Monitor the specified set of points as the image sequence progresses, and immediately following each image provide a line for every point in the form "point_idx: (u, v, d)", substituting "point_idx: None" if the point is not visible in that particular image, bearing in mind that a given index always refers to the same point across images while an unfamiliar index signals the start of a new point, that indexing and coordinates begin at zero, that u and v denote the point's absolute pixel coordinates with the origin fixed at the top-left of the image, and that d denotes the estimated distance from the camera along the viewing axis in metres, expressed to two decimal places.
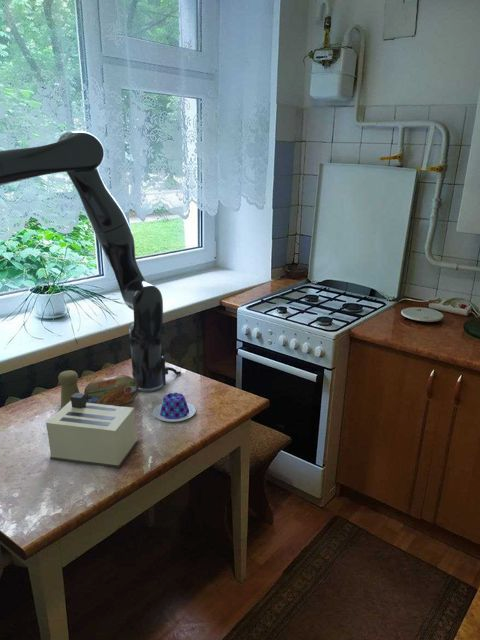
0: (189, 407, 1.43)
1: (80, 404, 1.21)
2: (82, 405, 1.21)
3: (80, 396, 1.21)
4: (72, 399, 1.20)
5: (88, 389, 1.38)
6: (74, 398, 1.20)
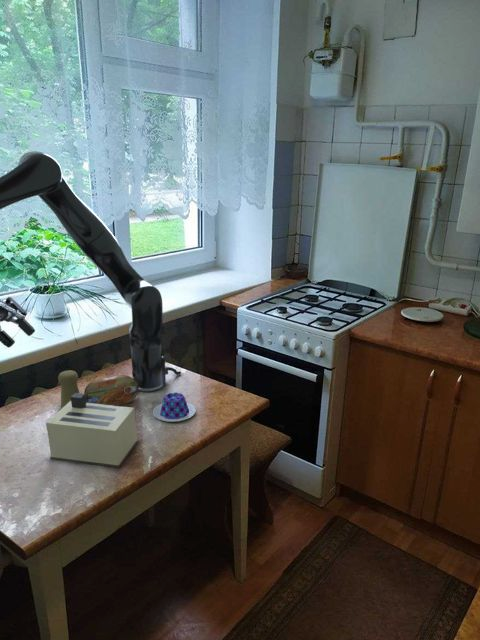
0: (189, 407, 1.43)
1: (80, 404, 1.21)
2: (82, 405, 1.21)
3: (80, 396, 1.21)
4: (72, 399, 1.20)
5: (88, 389, 1.38)
6: (74, 398, 1.20)
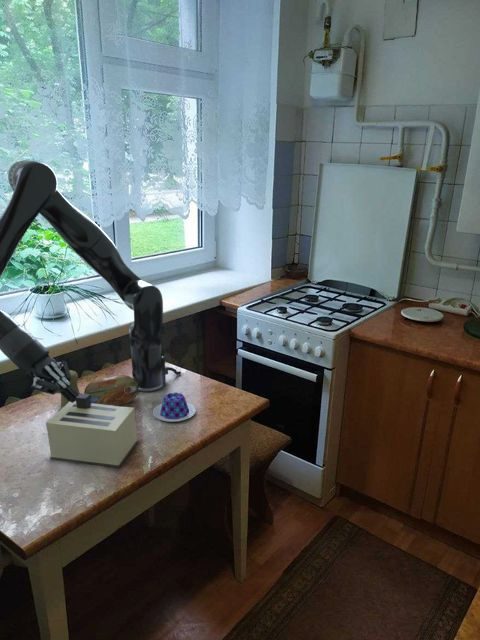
0: (189, 407, 1.43)
1: (85, 405, 1.21)
2: (87, 406, 1.21)
3: (85, 397, 1.21)
4: (77, 400, 1.20)
5: (88, 389, 1.38)
6: (79, 399, 1.20)
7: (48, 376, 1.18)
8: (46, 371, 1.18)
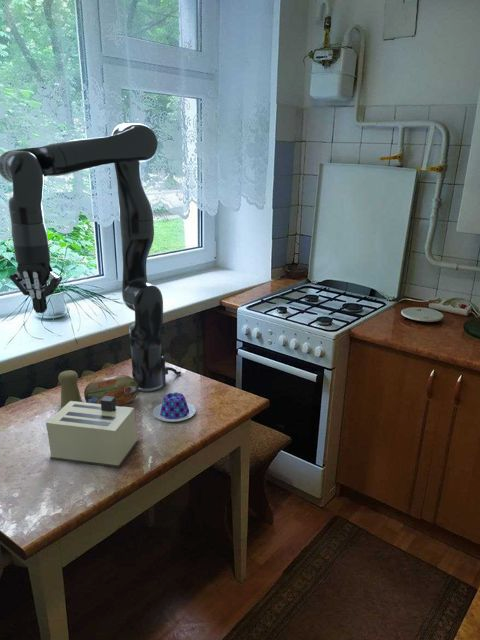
0: (189, 407, 1.43)
1: (110, 407, 1.20)
2: (112, 408, 1.20)
3: (110, 399, 1.20)
4: (102, 402, 1.19)
5: (88, 389, 1.38)
6: (104, 401, 1.19)
7: None
8: None
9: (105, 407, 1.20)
